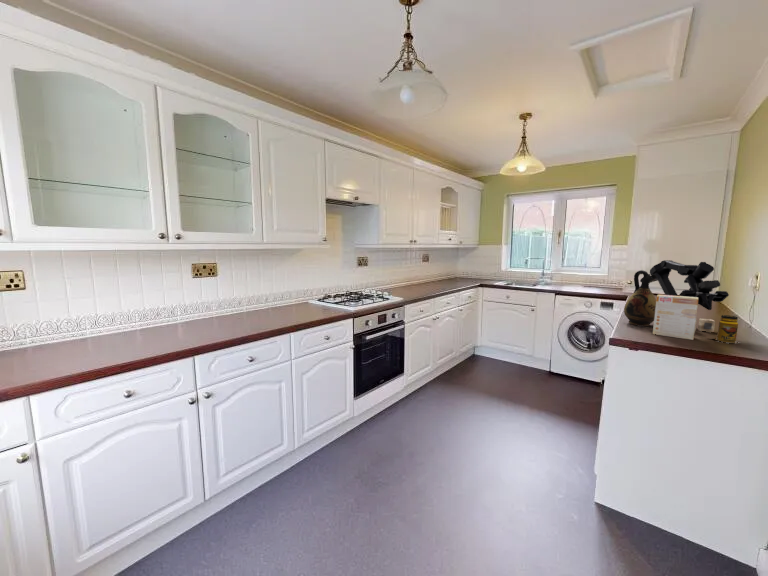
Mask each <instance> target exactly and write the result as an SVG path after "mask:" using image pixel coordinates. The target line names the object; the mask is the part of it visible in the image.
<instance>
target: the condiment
mask: <svg viewBox="0 0 768 576" xmlns="http://www.w3.org/2000/svg"><path fill="white" fill-rule="evenodd" d="M738 329H739V323H738V316H736V315H729V314H722V315H721V317H720V320H719V323H718V330H717V337H716V338H717V340H718V341H717V342H719V341H721V342H720V343H723V342H726V343H725V344H729V343H735V342H738V341H737V335H738ZM735 344H736V343H735ZM737 344H741V342H738V343H737Z"/></svg>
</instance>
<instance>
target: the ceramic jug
mask: <svg viewBox="0 0 768 576" xmlns="http://www.w3.org/2000/svg"><path fill="white" fill-rule="evenodd" d="M640 275H643V277H642V278H640V280H639V276H640ZM633 280H634V281H633V283H634V288H635V290H634V291H633V293H632V294H631V296H629V297H628V299H627V301H626V302H625V304H624V308H623V311H624V312H623V313H624V316H625V317H626V318H627V319H628V323H629V324H631V325H634V326H638V327H639V326H640V327H649V326H650V324H652V323H654V317H655V308H656V299H657V298H656V297H655V294H654V293H653V291H652V290H651V288H650V283H653V282H658V278H657V276H656V275H651V274H650V273H648V272H647V271H646V270H643V269H641V270H638V271H636V272H635V273H634V275H633ZM640 283H641V284H640Z"/></svg>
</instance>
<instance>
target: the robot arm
mask: <svg viewBox="0 0 768 576" xmlns="http://www.w3.org/2000/svg"><path fill="white" fill-rule="evenodd" d="M672 270H673V271H676V272H677V273H678V274H679V275H680V276H686V277H685V279H684V281H683V283H684V284H688V285H689V289H683V290H682V291H681V292H680V293H679V294H678V293H677V291H676V290H675V288H674V285H673V284H672V282H671V280H670V278H669V276H670V273H671V272H672ZM713 271H715V268H714V266H712V265H711V264H710V263H707V262H706V261H701V262H699V264H698V265H697V264H684V263H681V262H677V261H674V260H668V259H667V260H662V261H660V262H659V263H657V264H655V265H652V267H651V268H650V269H649V274H650V276H651V275H656V276H657V278H658V281H657V282H658V283H659V286H660V287H661V289H662V292H663V293H664V295H673V296H686V297H698V306H701V307H703V308H704V309H706V310H707V311H711V310H712V309H713V302H717V303H720V302H723V301H724V300H726V299H727V298H728V297H729V296H730V294H729V292H728V291H725V290H716V291H715V292H712V291H713V289H715V288H719V287H720V286H721V282H720V281H719V280H717V279H716V280H704V279H706V278H707V277H709V276H710V275H711V273H713ZM711 292H712V293H711Z"/></svg>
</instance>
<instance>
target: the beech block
mask: <svg viewBox="0 0 768 576" xmlns="http://www.w3.org/2000/svg"><path fill="white" fill-rule="evenodd" d="M715 326H716V321H715V320H714V319H711V318H699V319H698V327H697V330H698V331H699V330H700V331H699V332H702V331H706V332H705V333H711V332H715Z"/></svg>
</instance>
